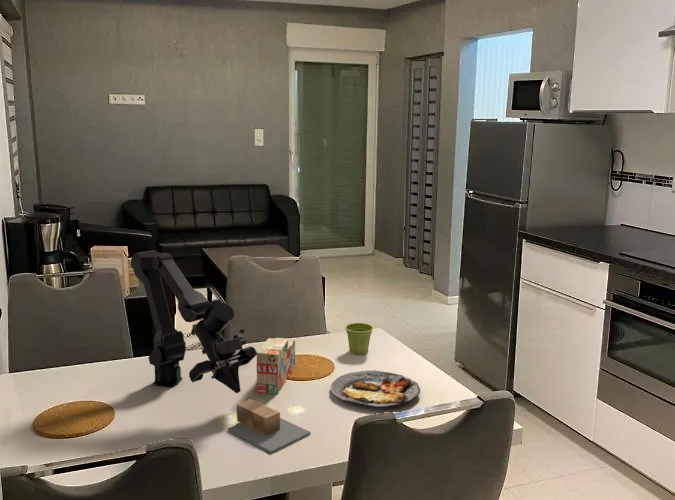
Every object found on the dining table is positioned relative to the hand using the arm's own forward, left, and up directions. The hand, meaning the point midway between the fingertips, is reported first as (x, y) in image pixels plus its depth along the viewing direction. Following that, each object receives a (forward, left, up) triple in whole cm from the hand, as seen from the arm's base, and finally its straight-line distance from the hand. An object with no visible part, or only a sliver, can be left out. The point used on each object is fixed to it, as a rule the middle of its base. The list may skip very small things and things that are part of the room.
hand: (238, 392), depth 164 cm
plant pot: (+21, +56, -7) cm, 60 cm away
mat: (+10, -6, -7) cm, 13 cm away
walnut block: (+2, -1, -4) cm, 5 cm away
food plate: (+32, +25, -7) cm, 41 cm away
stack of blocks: (+2, +27, -7) cm, 28 cm away
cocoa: (-15, +36, -7) cm, 39 cm away
